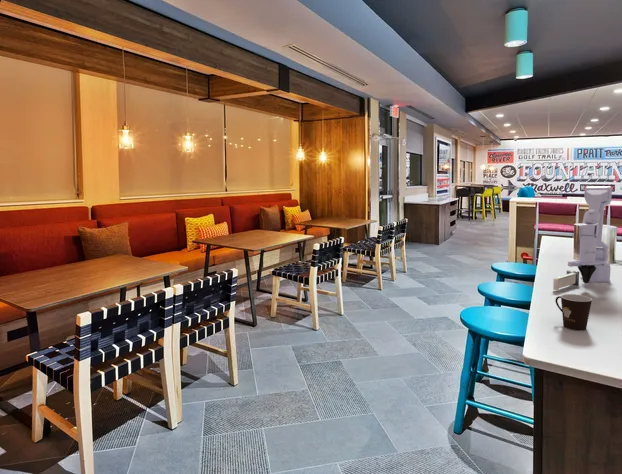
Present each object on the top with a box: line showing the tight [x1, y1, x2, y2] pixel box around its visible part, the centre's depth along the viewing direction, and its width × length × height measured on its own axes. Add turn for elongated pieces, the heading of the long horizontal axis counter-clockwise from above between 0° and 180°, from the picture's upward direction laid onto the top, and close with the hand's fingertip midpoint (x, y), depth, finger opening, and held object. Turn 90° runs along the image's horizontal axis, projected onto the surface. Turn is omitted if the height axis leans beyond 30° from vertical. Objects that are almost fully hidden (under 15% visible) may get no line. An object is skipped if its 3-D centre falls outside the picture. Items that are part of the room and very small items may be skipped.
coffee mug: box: [555, 293, 593, 332], centre depth 138 cm, size 12×9×10 cm
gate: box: [552, 273, 576, 291], centre depth 183 cm, size 16×2×5 cm, turn 123°
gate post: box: [565, 270, 580, 286], centre depth 191 cm, size 8×2×6 cm, turn 174°
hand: (585, 282), depth 178 cm, fingers closed
